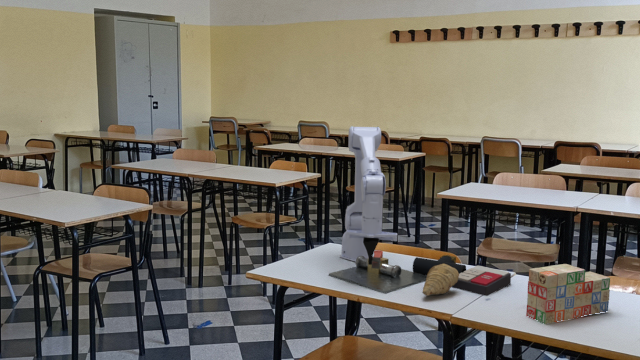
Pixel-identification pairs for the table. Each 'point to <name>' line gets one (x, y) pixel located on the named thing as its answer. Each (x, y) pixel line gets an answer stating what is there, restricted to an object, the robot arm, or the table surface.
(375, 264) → the lever
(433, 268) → the seashell
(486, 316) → the table surface
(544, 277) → the stack of blocks
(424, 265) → the pipe connector
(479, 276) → the calculator
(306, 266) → the table surface
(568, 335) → the table surface
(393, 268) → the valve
